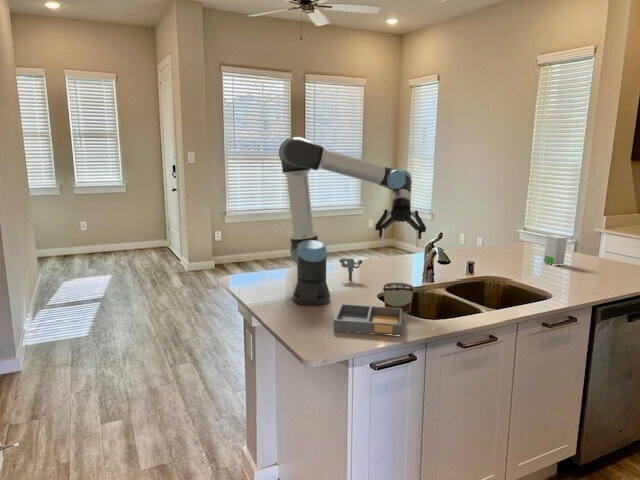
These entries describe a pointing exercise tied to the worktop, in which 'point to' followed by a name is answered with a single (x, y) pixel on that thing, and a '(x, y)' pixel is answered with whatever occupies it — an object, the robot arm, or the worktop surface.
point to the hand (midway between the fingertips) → (399, 244)
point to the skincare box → (555, 249)
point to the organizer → (368, 319)
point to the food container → (398, 295)
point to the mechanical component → (350, 265)
